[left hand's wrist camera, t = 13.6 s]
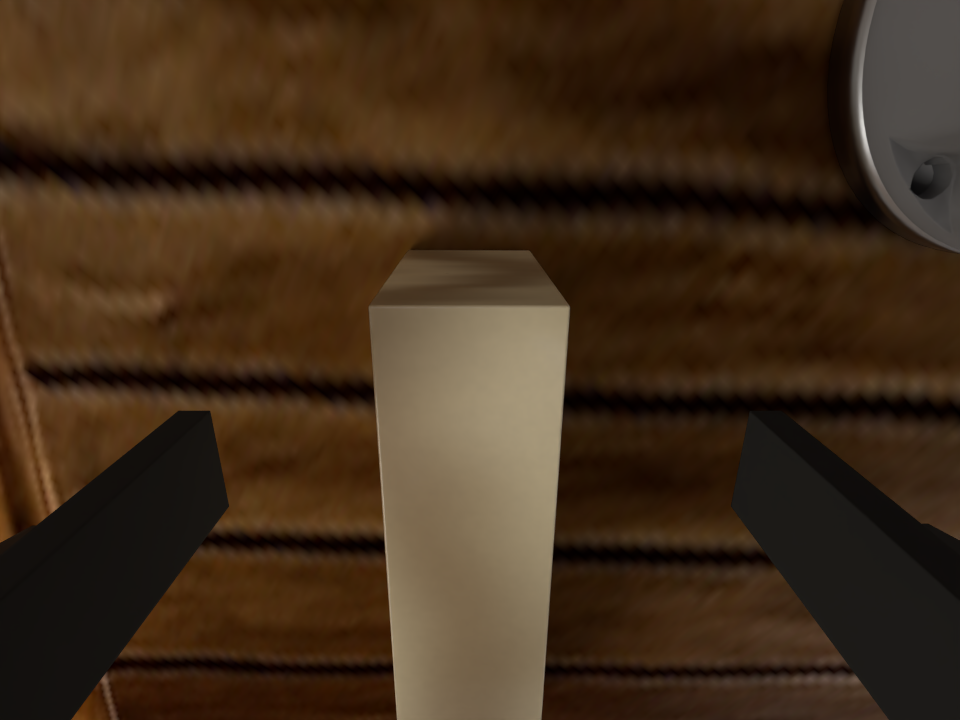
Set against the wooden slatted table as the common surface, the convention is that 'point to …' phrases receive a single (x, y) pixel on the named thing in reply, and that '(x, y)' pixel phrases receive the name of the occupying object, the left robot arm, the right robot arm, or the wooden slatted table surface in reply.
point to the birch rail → (469, 476)
